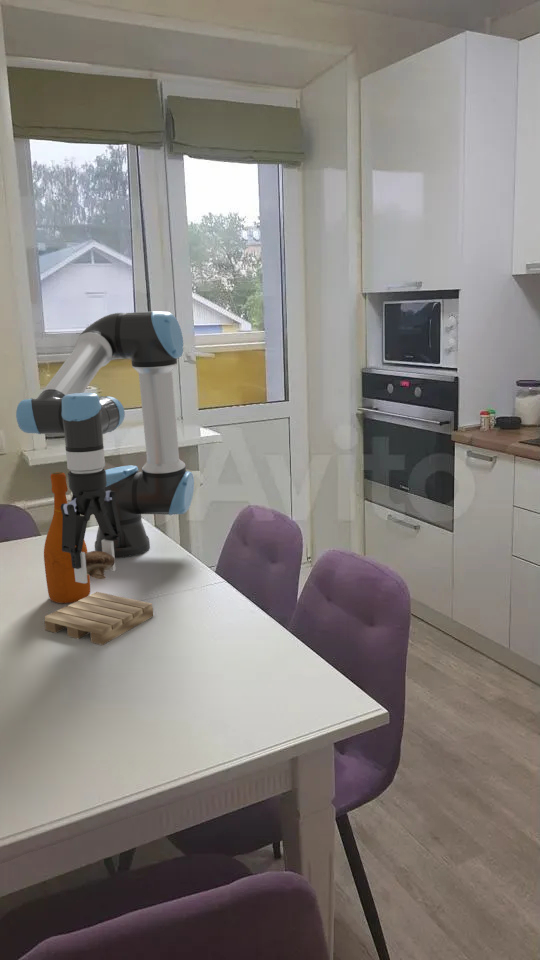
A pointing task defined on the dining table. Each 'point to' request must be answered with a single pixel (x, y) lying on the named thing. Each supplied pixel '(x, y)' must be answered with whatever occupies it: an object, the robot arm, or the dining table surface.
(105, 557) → the mushroom
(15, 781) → the dining table surface
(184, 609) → the dining table surface
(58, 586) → the wine bottle
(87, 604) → the pallet
